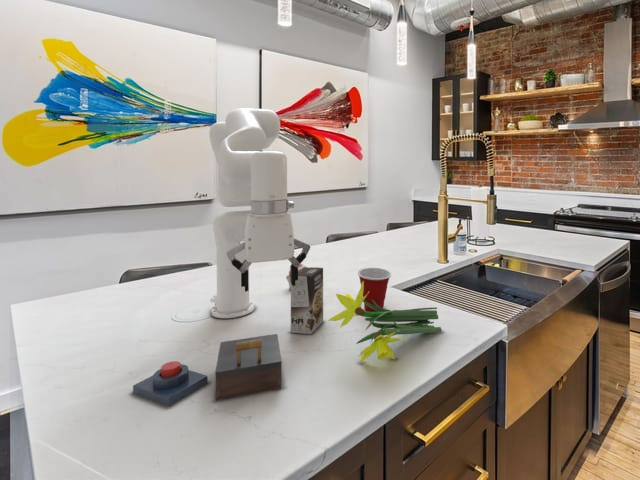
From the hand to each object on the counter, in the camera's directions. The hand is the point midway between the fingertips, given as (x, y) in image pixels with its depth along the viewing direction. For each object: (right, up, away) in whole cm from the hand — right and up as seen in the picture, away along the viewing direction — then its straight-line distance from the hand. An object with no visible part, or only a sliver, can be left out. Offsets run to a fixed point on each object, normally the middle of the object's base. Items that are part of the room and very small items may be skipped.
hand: (270, 286), depth 88 cm
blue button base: (-20, -21, -2) cm, 29 cm away
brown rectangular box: (-5, -21, +2) cm, 21 cm away
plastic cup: (+20, -20, +42) cm, 51 cm away
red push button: (-20, -17, -3) cm, 27 cm away
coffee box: (+2, -21, +28) cm, 35 cm away
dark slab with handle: (-5, -16, +1) cm, 17 cm away
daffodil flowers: (+27, -21, +16) cm, 37 cm away
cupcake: (-9, -20, +62) cm, 66 cm away
